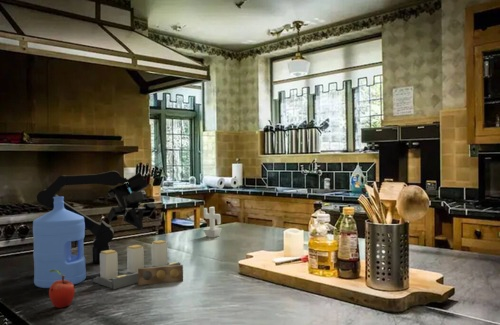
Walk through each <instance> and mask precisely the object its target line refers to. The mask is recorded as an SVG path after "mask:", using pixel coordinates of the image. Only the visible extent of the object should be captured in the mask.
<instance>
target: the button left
mask: <svg viewBox="0 0 500 325" xmlns="http://www.w3.org/2000/svg"><path fill="white" fill-rule="evenodd" d="M118 257H119V256H118V252H117V250H113V249H111V250H106V251H101V253H100V263H99V273H100V274H99V275H100V276H99V277H102V278H105V279H108V280H109V279H112V278H116V277H117V276H118V272H119V265H118V264H119V263H118Z"/></svg>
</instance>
